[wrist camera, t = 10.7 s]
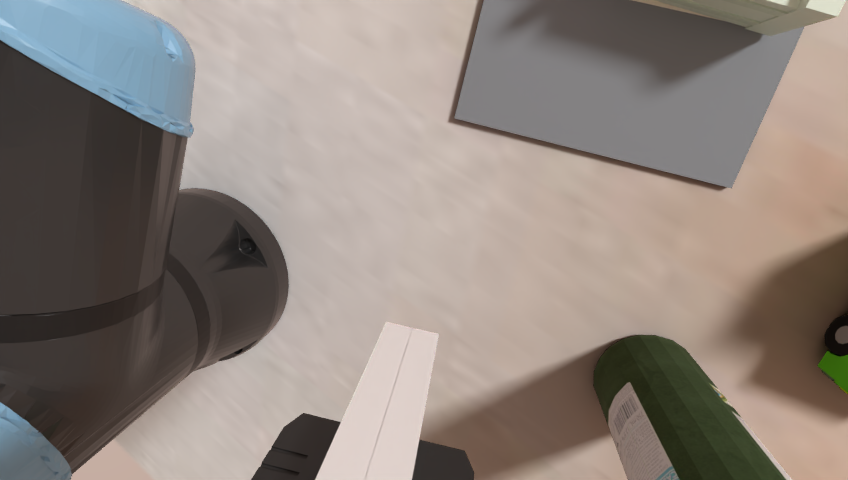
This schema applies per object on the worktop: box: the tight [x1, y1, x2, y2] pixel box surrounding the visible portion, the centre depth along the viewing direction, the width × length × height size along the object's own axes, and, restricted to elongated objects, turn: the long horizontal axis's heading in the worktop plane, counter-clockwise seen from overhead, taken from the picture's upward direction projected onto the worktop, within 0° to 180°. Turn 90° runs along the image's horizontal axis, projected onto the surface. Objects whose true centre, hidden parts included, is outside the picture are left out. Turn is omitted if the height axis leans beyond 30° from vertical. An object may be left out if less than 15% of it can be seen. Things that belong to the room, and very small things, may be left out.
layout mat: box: [454, 0, 805, 188], centre depth 29 cm, size 20×20×1 cm
